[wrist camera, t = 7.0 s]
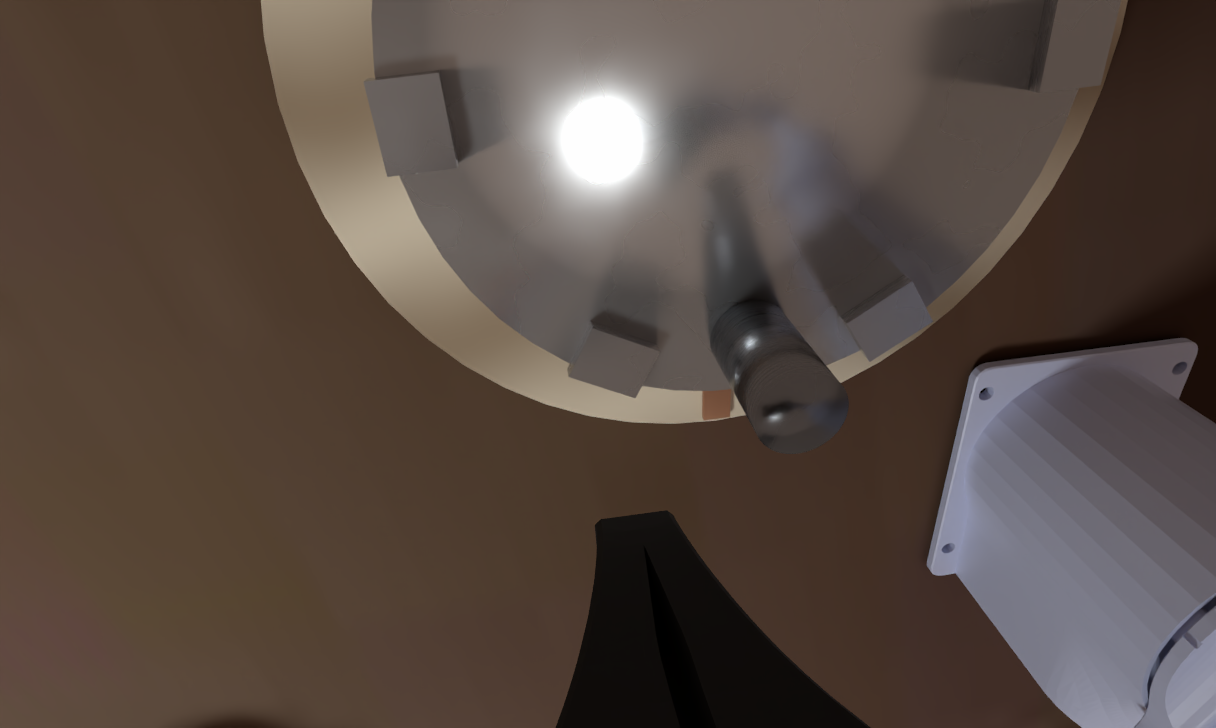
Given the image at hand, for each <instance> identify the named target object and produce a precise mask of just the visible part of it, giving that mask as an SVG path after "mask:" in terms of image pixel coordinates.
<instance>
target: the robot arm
mask: <svg viewBox="0 0 1216 728" xmlns="http://www.w3.org/2000/svg"><path fill="white" fill-rule="evenodd" d="M1197 352H1198V346H1197V344H1196V343H1194V342H1192V341H1191V340H1189V339H1187V338H1176V339H1168V340H1160V341H1152V342H1144V343H1136V344H1128V345H1121V346H1113V347H1105V348H1097V349H1089V350H1081V351H1073V352H1066V353H1058V354H1050V355H1042V356H1034V357H1026V358H1018V359H1011V360H1003V361H995V362H987V363H983V364H980V365H979V366H977V367H976V368H975V369H974V370H973V371H972V372H971V374H970V377H969V380H968V385H967V389H966V394H965V398H964V402H963V407H962V411H961V415H960V420H959V424H958V429H957V433H956V437H955V442H954V446H953V450H952V455H951V459H950V463H949V468H948V472H947V477H946V481H945V485H944V490H943V494H942V498H941V503H940V507H939V512H938V516H937V520H936V525H935V529H934V533H933V538H932V542H931V546H930V551H929V555H928V560H927V567H928V568H929V569H930V571H931V572H932V574H934V575H948V574H954V573H956V574H957V576H958V577H959V578H960V580H961V581H962V582H963V584H964V585H965V586H966V588H967V589H968V590H969V592H970V593H971V594H972V596H973V597H974V598H975V600H976V601H977V602H978V604H979V605H980V607H981V608H982V609H983V611H984V612H985V613H986V615H987V616H988V617H989V619H990V620H991V621H992V623H993V624H994V625H995V627H996V628H997V629H998V631H999V632H1000V633H1001V635H1002V636H1003V637H1004V639H1005V640H1006V641H1007V643H1008V644H1009V645H1010V647H1011V648H1012V649H1013V651H1014V652H1015V653H1016V655H1017V656H1018V657H1019V659H1020V660H1021V661H1022V663H1023V664H1024V665H1025V667H1026V668H1027V670H1028V671H1029V672H1030V674H1031V675H1032V676H1033V678H1034V679H1035V680H1036V682H1037V683H1038V684H1039V686H1040V687H1041V688H1042V690H1043V691H1044V692H1045V694H1046V695H1047V696H1048V697H1049V698H1050V699H1051V700H1052V702H1053V703H1054V704H1055V705H1056V706H1057V707H1058V708H1059V709H1060V710H1061V711H1062V712H1064V713H1065V714H1066V715H1067V716H1068V717H1069V718H1070V719H1072V720H1073V721H1074V722H1076V723H1077V724H1078V725H1080V726H1081V727H1082V728H1216V424H1215V423H1214V422H1212V421H1211V420H1209V419H1208V418H1206V417H1205V416H1203V415H1202V414H1200V413H1198V412H1197V411H1195V410H1194V409H1192V408H1191V407H1189V406H1188V405H1186V404H1185V403H1183V402H1182V401H1180V400H1179V397H1180V395H1181V392H1182V390H1183V387H1184V385H1185V382H1186V380H1187V378H1188V375H1189V373H1190V370H1191V368H1192V365H1193V363H1194V360H1195V358H1196V356H1197ZM984 388H986V389H985V391H983V392H982V393H980V392H981V390H983V389H984ZM979 393H980V394H979ZM595 531H596V543H597V557H596V569H595V579H594V585H593V592H592V598H591V604H590V610H589V615H588V620H587V624H586V628H585V632H584V637H583V641H582V645H581V649H580V653H579V657H578V661H577V664H576V668H575V671H574V675H573V678H572V681H571V685H570V688H569V691H568V694H567V697H566V700H565V703H564V706H563V709H562V712H561V715H560V717H559V720H558V723H557V725H556V728H870V727H869V726H868V725H867V724H865V723H864V722H863V721H862V720H860V719H859V718H858V717H857V716H855V715H854V714H853V713H851V712H850V711H849V710H848V709H846V708H845V707H844V706H843V705H841V704H840V703H839V702H838V701H836V700H835V699H834V698H833V697H831V696H830V695H829V694H828V693H827V692H826V691H824V690H823V689H822V688H821V687H820V686H819V685H818V684H816V683H815V682H814V681H813V680H812V679H811V678H810V677H809V676H807V675H806V674H805V673H804V672H803V671H802V670H801V669H800V668H799V667H798V666H797V665H796V664H795V663H793V662H792V661H791V660H790V659H789V658H788V657H787V656H786V655H785V654H784V653H783V652H782V651H781V650H780V649H779V648H778V647H777V646H776V645H775V644H774V643H773V642H772V641H771V640H770V639H769V638H768V637H767V636H766V635H765V634H764V633H763V631H762V630H761V629H760V628H759V627H758V626H757V625H756V624H755V623H754V622H753V621H752V620H751V618H750V617H749V616H748V615H747V614H746V613H745V612H744V611H743V609H742V608H741V607H740V606H739V605H738V604H737V603H736V601H735V600H734V599H733V598H732V597H731V595H730V594H729V593H728V592H727V590H726V589H725V588H724V587H723V586H722V584H721V583H720V582H719V581H718V579H717V578H716V577H715V576H714V574H713V573H712V572H711V570H710V569H709V568H708V567H707V565H706V564H705V563H704V561H703V560H702V558H701V557H700V556H699V554H698V553H697V552H696V550H695V549H694V547H693V546H692V544H691V543H690V542H689V540H688V539H687V537H686V536H685V534H684V533H683V531H682V529H681V528H680V526H679V525H678V523H677V521H676V520H675V518H674V516H673V515H672V514H671V513H670V512H668V511H659V512H652V513H645V514H637V515H630V516H622V517H615V518H607V519H601V520H600V521H599V522H598V523H597V524H596V525H595Z"/></svg>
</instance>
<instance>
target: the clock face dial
mask: <svg viewBox="0 0 1216 728" xmlns="http://www.w3.org/2000/svg"><path fill="white" fill-rule="evenodd" d="M1120 3H1121V0H372V13H371V21H372V40H373V59H374V75H375V78H367V79H366V80H365V81H364V86H365V90H366V94H367V98H368V102H369V106H370V110H371V114H372V118H373V122H374V126H375V130H376V134H377V138H378V142H379V146H380V150H381V154H382V158H383V162H384V166H385V170H386V174H387V177H392V176H400V178H401V181H402V183H403V185H404V187H405V189H406V192H407V194H408V196H409V198H410V200H411V203H412V205H413V207H414V209H415V211H416V214H417V216H418V218H419V220H420V221H421V223H422V225H423V226H424V228H425V229H426V231H427V233H428V234H429V236H430V237H431V239H432V241H433V242H434V244H435V246H436V247H437V249H438V250H439V252H440V254H441V255H442V257H443V258H444V259H445V261H446V262H447V263H448V264H449V266H450V267H451V268H452V269H453V270H454V272H455V273H456V274H457V275H458V277H459V278H460V279H461V280H462V282H463V283H464V284H465V285H466V286H467V288H468V289H469V290H470V291H471V292H472V293H473V294H474V295H475V296H476V297H477V298H478V299H479V300H480V301H481V302H482V303H483V304H484V305H485V306H486V307H488V308H489V309H490V310H491V311H492V312H493V313H494V314H495V315H496V316H497V317H498V318H499V319H500V320H501V321H503V322H504V323H506V324H507V325H508V326H510V327H511V328H512V329H514V330H515V331H517V332H518V333H519V334H521V335H522V336H523V337H525V338H526V339H527V340H529V341H530V342H532V343H533V344H535V345H537V346H538V347H540V348H542V349H544V350H546V351H548V352H549V353H551V354H553V355H555V356H557V357H558V358H560V359H562V360H564V361H566V362H568V363H570V364H569V366H568V368H567V371H568V376H569V377H570V378H573V379H576V380H579V381H582V382H586V383H589V384H592V385H595V386H598V387H601V388H604V389H607V390H611V391H614V392H617V393H620V394H623V395H626V396H629V397H632V398H636V396H637V395H638V393H639V391H640V389H641V387H642V386H646V387H653V388H661V389H668V390H680V391H717V390H727V389H732V390H733V392H734V394H735V396H736V397H737V399H738V401H739V403H740V405H741V407H742V408H743V410H744V412H745V414H746V416H747V418H748V419H749V421H750V423H751V425H752V427H753V428H754V430H755V432H756V434H757V436H758V437H759V439H760V441H761V442H762V443H763V444H764V445H765V446H767V447H768V448H770V449H771V450H774V451H776V452H780V453H786V454H796V453H802V452H807V451H810V450H812V449H815V448H817V447H819V446H821V445H822V444H824V443H825V442H827V441H828V440H829V439H831V438H832V437H833V436H834V435H835V434H836V433H837V431H838V430H839V429H840V428H841V426H842V424H843V423H844V421H845V418H846V416H847V412H848V396H847V393H846V391H845V389H844V387H843V386H842V385H841V383H840V382H839V381H838V380H837V378H836V377H835V376H834V375H833V373H832V372H831V371H830V370H829V368H828V367H827V365H829V364H831V363H833V362H836V361H838V360H840V359H842V358H845V357H847V356H849V355H851V354H854V353H856V352H858V351H861V352H862V354H863V355H864V356H865V358H866V359H867V360H868V361H869V362H871V361H872V360H874V359H875V358H877V357H879V356H880V355H882V354H883V353H885V352H886V351H888V350H890V349H891V348H893V347H894V346H896V345H897V344H899V343H901V342H902V341H904V340H905V339H907V338H908V337H910V336H912V335H913V334H915V333H916V332H918V331H919V330H921V329H923V328H924V327H926V326H927V325H929V324H930V323H932V322H933V320H932V318H931V316H930V314H929V313H928V311H927V309H926V307H927V306H928V305H930V304H931V303H932V302H933V301H934V300H935V299H937V298H938V297H939V296H940V295H941V294H942V293H943V292H945V291H946V290H947V289H948V288H949V287H950V286H951V285H953V284H954V283H955V282H956V281H957V280H958V279H959V278H960V277H961V276H962V275H963V274H964V273H965V272H966V271H967V270H968V269H969V268H970V267H971V265H972V264H973V263H974V262H975V261H976V260H977V259H978V258H979V257H980V256H981V255H982V254H983V253H984V252H985V251H986V250H987V249H988V247H989V246H990V245H991V243H992V242H993V241H994V240H995V238H996V237H997V236H998V235H999V233H1000V232H1001V231H1002V229H1003V228H1004V227H1005V226H1006V224H1007V223H1008V222H1009V221H1010V219H1011V218H1012V217H1013V215H1014V214H1015V213H1016V211H1017V209H1018V208H1019V206H1020V205H1021V203H1022V202H1023V200H1024V199H1025V197H1026V195H1027V194H1028V192H1029V191H1030V189H1031V188H1032V186H1033V185H1034V183H1035V181H1036V180H1037V178H1038V177H1039V175H1040V173H1041V171H1042V169H1043V167H1044V166H1045V164H1046V162H1047V160H1048V158H1049V156H1050V154H1051V152H1052V150H1053V148H1054V146H1055V144H1056V142H1057V140H1058V138H1059V136H1060V134H1061V132H1062V130H1063V127H1064V125H1065V122H1066V120H1067V117H1068V115H1069V112H1070V110H1071V107H1072V105H1073V102H1074V100H1075V97H1076V95H1077V92H1078V90H1079V88H1083V87H1091V86H1099V85H1101V82H1102V78H1103V74H1104V69H1105V65H1106V61H1107V57H1108V53H1109V49H1110V45H1111V41H1112V36H1113V32H1114V28H1115V24H1116V20H1117V16H1118V12H1119V8H1120Z"/></svg>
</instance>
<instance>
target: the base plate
mask: <svg viewBox="0 0 1216 728" xmlns="http://www.w3.org/2000/svg"><path fill="white" fill-rule="evenodd" d="M1127 2H1128V0H1121V3H1120V8H1119V12H1118V16H1117V20H1116V24H1115V28H1114V32H1113V36H1112V41H1111V45H1110V49H1109V53H1108V57H1107V61H1106V65H1105V69H1104V74H1103V78H1102V82H1101V85H1099V86H1091V87H1083V88H1079V90H1078V92H1077V95H1076V97H1075V100H1074V102H1073V105H1072V107H1071V110H1070V112H1069V115H1068V117H1067V120H1066V122H1065V125H1064V127H1063V130H1062V132H1061V134H1060V136H1059V138H1058V140H1057V142H1056V144H1055V146H1054V148H1053V150H1052V152H1051V154H1050V156H1049V158H1048V160H1047V162H1046V164H1045V166H1044V167H1043V169H1042V171H1041V173H1040V175H1039V177H1038V178H1037V180H1036V181H1035V183H1034V185H1033V186H1032V188H1031V189H1030V191H1029V192H1028V194H1027V195H1026V197H1025V199H1024V200H1023V202H1022V203H1021V205H1020V206H1019V208H1018V209H1017V211H1016V213H1015V214H1014V215H1013V217H1012V218H1011V219H1010V221H1009V222H1008V223H1007V224H1006V226H1005V227H1004V228H1003V229H1002V231H1001V232H1000V233H999V235H998V236H997V237H996V238H995V240H994V241H993V242H992V243H991V245H990V246H989V247H988V249H987V250H986V251H985V252H984V253H983V254H982V255H981V256H980V257H979V258H978V259H977V260H976V261H975V262H974V263H973V264H972V265H971V267H970V268H969V269H968V270H967V271H966V272H965V273H964V274H963V275H962V276H961V277H960V278H959V279H958V280H957V281H956V282H955V283H954V284H953V285H951V286H950V287H949V288H948V289H947V290H946V291H945V292H943V293H942V294H941V295H940V296H939V297H938V298H937V299H935V300H934V301H933V302H932V303H931V304H930V305H928V306H927V307H926V309H927V311H928V313H929V314H930V316H931V318H932V320H933V322H932V323H930V324H929V325H927V326H926V327H924V328H923V329H921V330H919V331H918V332H916V333H915V334H913V335H912V336H910V337H908V338H907V339H905V340H904V341H902V342H901V343H899V344H897V345H896V346H894V347H893V348H891V349H890V350H888V351H886V352H885V353H883V354H882V355H880V356H879V357H877V358H875V359H874V360H872V361H871V362H869V361H868V360H867V359H866V358H865V356H864V355H863V354H862V352H861V351H858V352H856V353H854V354H851V355H849V356H847V357H845V358H842V359H840V360H838V361H836V362H833V363H831V364H829V365H827V367H828V368H829V370H830V371H831V372H832V373H833V375H834V376H835V377H836V378H837V380H838V381H839V382H840V383H841V382H843V381H845V380H847V379H849V378H851V377H853V376H854V375H856V374H858V373H860V372H862V371H864V370H866V369H868V368H869V367H871V366H873V365H875V364H877V363H879V362H880V361H882V360H883V359H885V358H886V357H888V356H889V355H891V354H892V353H894V352H895V351H897V350H898V349H900V348H901V347H903V346H904V345H906V344H907V343H909V342H910V341H912V340H913V339H915V338H916V337H918V336H919V335H920V334H921V333H923V332H924V331H925V330H926V329H927V328H929V327H930V326H931V325H932V324H934V323H935V322H936V321H937V320H938V319H940V318H941V317H942V316H943V315H945V314H946V313H947V312H948V311H950V310H951V309H952V308H953V307H954V306H955V305H956V304H957V303H958V302H959V301H960V300H961V299H962V298H963V297H964V296H965V295H967V294H968V293H969V292H970V291H971V290H972V289H973V288H974V287H975V286H976V285H977V284H978V283H979V282H980V281H981V280H982V279H983V278H984V277H985V276H986V275H987V274H988V273H989V272H990V271H991V269H992V268H993V267H994V266H995V265H996V263H997V262H998V261H999V260H1000V259H1001V257H1002V256H1003V255H1004V254H1005V253H1006V251H1007V250H1008V249H1009V248H1010V247H1011V245H1012V244H1013V243H1014V242H1015V241H1016V240H1017V238H1018V237H1019V236H1020V235H1021V234H1022V232H1023V231H1024V229H1025V228H1026V226H1027V225H1028V224H1029V222H1030V221H1031V219H1032V218H1033V216H1034V215H1035V213H1036V212H1037V211H1038V209H1039V208H1040V206H1041V205H1042V203H1043V202H1044V200H1045V199H1046V197H1047V196H1048V195H1049V193H1050V192H1051V190H1052V189H1053V187H1054V185H1055V183H1056V182H1057V180H1058V178H1059V176H1060V174H1061V173H1062V171H1063V169H1064V167H1065V165H1066V164H1067V162H1068V160H1069V158H1070V157H1071V155H1072V153H1073V151H1074V149H1075V148H1076V146H1077V144H1078V142H1079V140H1080V138H1081V136H1082V133H1083V131H1084V129H1085V127H1086V124H1087V122H1088V120H1089V118H1090V115H1091V113H1092V111H1093V108H1094V106H1095V104H1096V102H1097V99H1098V97H1099V95H1100V93H1101V90H1102V88H1103V85H1104V82H1105V79H1106V76H1107V73H1108V70H1109V66H1110V63H1111V60H1112V57H1113V54H1114V51H1115V48H1116V45H1117V42H1118V39H1119V36H1120V33H1121V29H1122V24H1123V20H1124V15H1125V11H1126V6H1127ZM261 7H262V18H263V30H264V40H265V44H266V49H267V54H268V59H269V63H270V68H271V73H272V77H273V82H274V87H275V92H276V96H277V101H278V105H279V108H280V111H281V114H282V117H283V119H284V122H285V125H286V128H287V131H288V134H289V137H290V140H291V143H292V146H293V149H294V151H295V154H296V157H297V160H298V163H299V165H300V167H301V169H302V171H303V173H304V175H305V177H306V179H307V181H308V183H309V186H310V188H311V190H312V192H313V194H314V196H315V198H316V200H317V202H318V204H319V206H320V208H321V210H322V212H323V214H324V216H325V218H326V219H327V221H328V222H329V224H330V225H331V227H332V229H333V230H334V232H335V233H336V235H337V236H338V238H339V239H340V241H341V242H342V244H343V245H344V247H345V249H346V250H347V252H348V253H349V255H350V256H351V258H352V259H353V261H354V262H355V264H356V265H357V266H358V267H359V268H360V270H361V271H362V272H363V273H364V274H365V276H366V277H367V278H368V279H369V280H370V281H371V283H372V284H373V285H374V286H375V287H376V289H377V290H378V291H379V292H380V293H381V295H382V296H383V297H384V298H385V299H386V301H387V302H388V303H389V304H390V305H391V306H392V307H393V308H395V309H396V310H397V311H398V312H399V313H400V314H401V315H402V316H403V317H404V318H405V319H406V320H407V321H408V322H410V323H411V324H412V325H413V326H414V327H415V328H416V329H417V330H418V331H419V332H420V333H421V334H422V335H424V336H425V337H426V338H427V339H429V340H430V341H431V342H433V343H434V344H435V345H437V346H438V347H440V348H441V349H442V350H444V351H445V352H446V353H448V354H449V355H451V356H452V357H453V358H455V359H456V360H458V361H459V362H460V363H462V364H463V365H465V366H466V367H468V368H470V369H472V370H474V371H475V372H477V373H479V374H481V375H483V376H484V377H486V378H488V379H490V380H492V381H493V382H495V383H497V384H499V385H501V386H502V387H504V388H507V389H509V390H512V391H514V392H517V393H519V394H522V395H524V396H527V397H529V398H531V399H534V400H536V401H539V402H541V403H544V404H547V405H550V406H554V407H558V408H561V409H565V410H568V411H572V412H576V413H579V414H583V415H587V416H593V417H599V418H606V419H613V420H619V421H626V422H639V423H667V424H675V423H689V422H702V421H715V420H721V419H726V418H731V417H737V416H742V415H746V414H745V412H744V410H743V408H742V407H741V405H740V403H739V401H738V399H737V397H736V396H735V394H734V392H733V390H732V389H727V390H717V391H680V390H668V389H661V388H653V387H646V386H642V387H641V389H640V391H639V393H638V395H637V396H636V398H632V397H629V396H626V395H623V394H620V393H617V392H614V391H611V390H607V389H604V388H601V387H598V386H595V385H592V384H589V383H586V382H582V381H579V380H576V379H573V378H570V377H569V376H568V371H567V368H568V366H569V364H570V363H568V362H566V361H564V360H562V359H560V358H558V357H557V356H555V355H553V354H551V353H549V352H548V351H546V350H544V349H542V348H540V347H538V346H537V345H535V344H533V343H532V342H530V341H529V340H527V339H526V338H525V337H523V336H522V335H521V334H519V333H518V332H517V331H515V330H514V329H512V328H511V327H510V326H508V325H507V324H506V323H504V322H503V321H501V320H500V319H499V318H498V317H497V316H496V315H495V314H494V313H493V312H492V311H491V310H490V309H489V308H488V307H486V306H485V305H484V304H483V303H482V302H481V301H480V300H479V299H478V298H477V297H476V296H475V295H474V294H473V293H472V292H471V291H470V290H469V289H468V288H467V286H466V285H465V284H464V283H463V282H462V280H461V279H460V278H459V277H458V275H457V274H456V273H455V272H454V270H453V269H452V268H451V267H450V266H449V264H448V263H447V262H446V261H445V259H444V258H443V257H442V255H441V254H440V252H439V250H438V249H437V247H436V246H435V244H434V242H433V241H432V239H431V237H430V236H429V234H428V233H427V231H426V229H425V228H424V226H423V225H422V223H421V221H420V220H419V218H418V216H417V214H416V211H415V209H414V207H413V205H412V203H411V200H410V198H409V196H408V194H407V192H406V189H405V187H404V185H403V183H402V181H401V178H400V176H392V177H387V174H386V170H385V166H384V162H383V158H382V154H381V150H380V146H379V142H378V138H377V134H376V130H375V126H374V122H373V118H372V114H371V110H370V106H369V102H368V98H367V94H366V90H365V86H364V81H365V80H366V79H367V78H375V75H374V59H373V40H372V21H371V13H372V0H261Z"/></svg>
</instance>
